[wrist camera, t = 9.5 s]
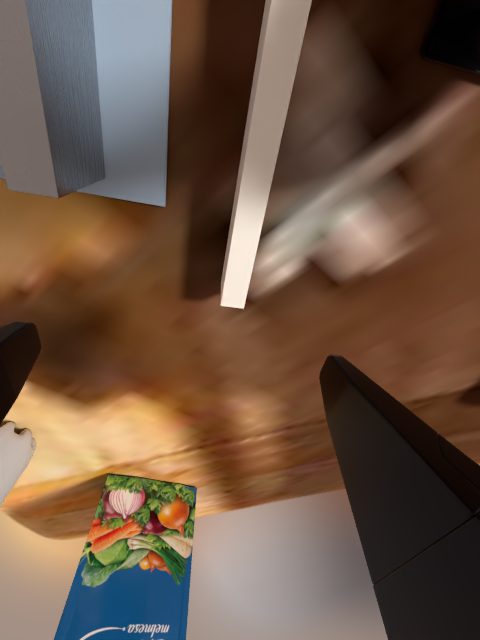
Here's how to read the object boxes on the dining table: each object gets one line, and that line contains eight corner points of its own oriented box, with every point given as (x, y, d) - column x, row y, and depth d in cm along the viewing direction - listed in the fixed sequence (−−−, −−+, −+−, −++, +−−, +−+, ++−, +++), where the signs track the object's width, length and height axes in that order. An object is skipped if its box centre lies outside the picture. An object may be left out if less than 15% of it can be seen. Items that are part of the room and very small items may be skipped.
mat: (172, -18, 13) (171, -20, 13) (165, 205, 19) (164, 206, 18) (-72, -87, 12) (-79, -92, 11) (-2, 176, 17) (-5, 177, 17)
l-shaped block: (331, -159, 11) (369, -260, 8) (241, 285, 22) (243, 308, 19) (-298, -402, 8) (-572, -682, 5) (-45, 245, 19) (-92, 265, 16)
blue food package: (108, 471, 36) (-39, 916, 16) (197, 485, 40) (169, 871, 19) (101, 493, 40) (-30, 889, 19) (184, 504, 43) (148, 853, 22)
